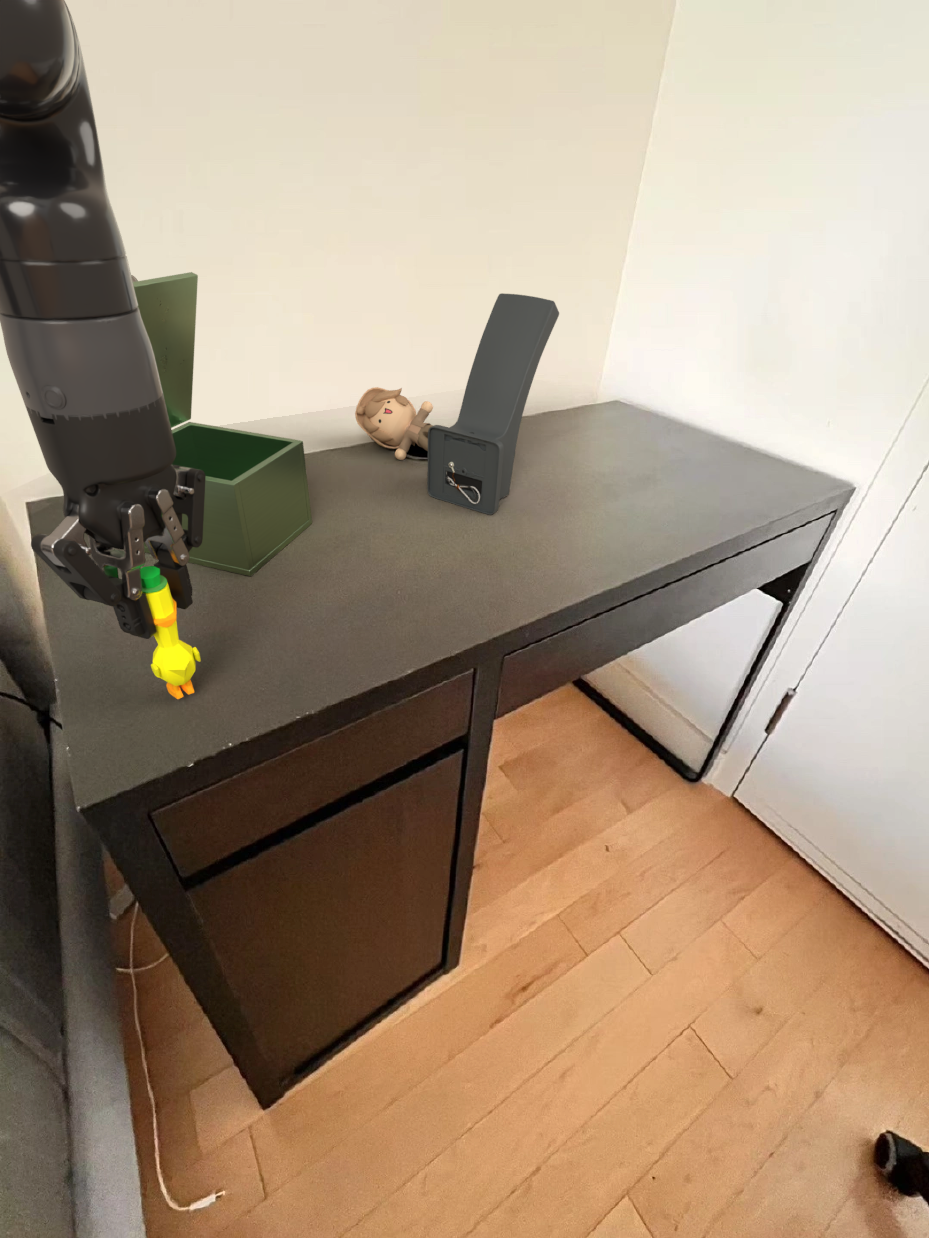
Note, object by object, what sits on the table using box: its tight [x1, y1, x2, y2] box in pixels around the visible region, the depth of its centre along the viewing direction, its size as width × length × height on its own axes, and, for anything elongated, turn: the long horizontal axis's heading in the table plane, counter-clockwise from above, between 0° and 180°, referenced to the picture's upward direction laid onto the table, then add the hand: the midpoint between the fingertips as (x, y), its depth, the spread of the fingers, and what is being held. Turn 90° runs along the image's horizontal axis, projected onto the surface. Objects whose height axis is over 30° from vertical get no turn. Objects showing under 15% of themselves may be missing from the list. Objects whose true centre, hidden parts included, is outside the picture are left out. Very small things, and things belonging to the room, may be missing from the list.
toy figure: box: [140, 565, 202, 700], centre depth 48 cm, size 7×4×12 cm, turn 42°
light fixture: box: [426, 293, 560, 516], centre depth 83 cm, size 11×17×24 cm, turn 149°
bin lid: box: [131, 271, 199, 429], centre depth 64 cm, size 17×14×6 cm
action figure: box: [354, 386, 434, 461], centre depth 97 cm, size 10×11×15 cm
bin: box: [144, 421, 313, 577], centre depth 71 cm, size 16×14×11 cm
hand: (161, 618), depth 47 cm, fingers closed on toy figure, 3 cm apart
